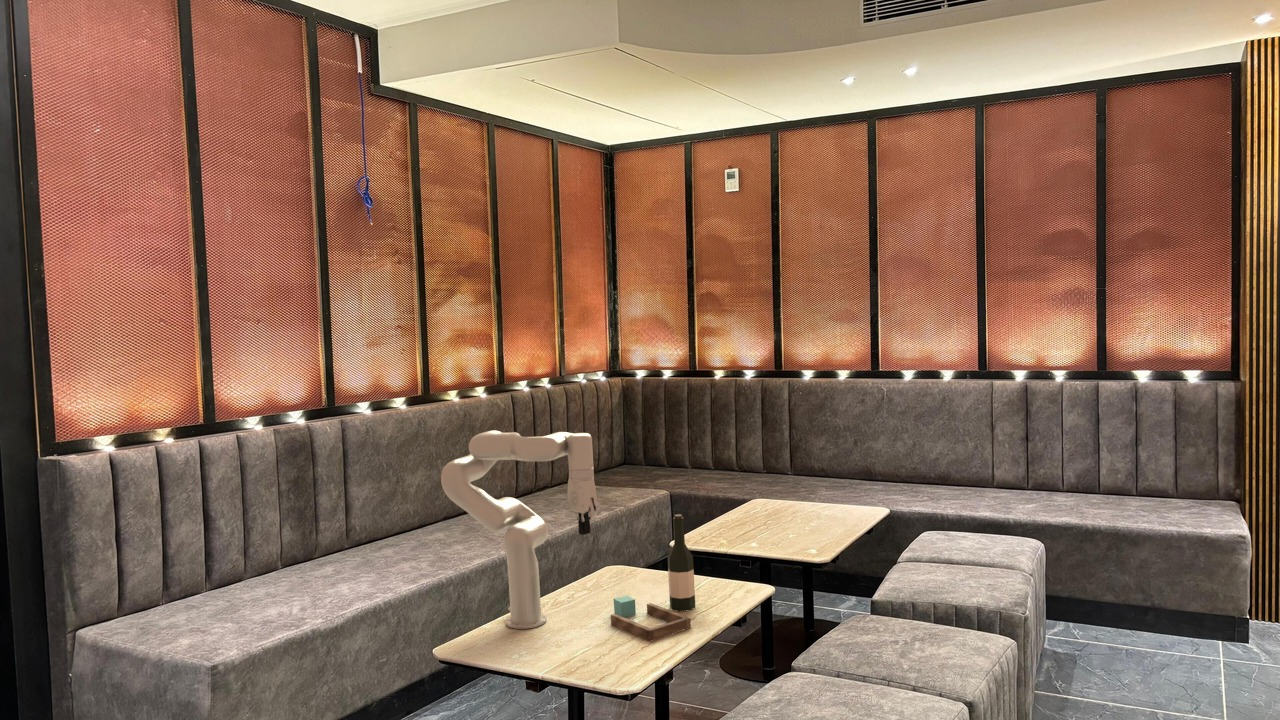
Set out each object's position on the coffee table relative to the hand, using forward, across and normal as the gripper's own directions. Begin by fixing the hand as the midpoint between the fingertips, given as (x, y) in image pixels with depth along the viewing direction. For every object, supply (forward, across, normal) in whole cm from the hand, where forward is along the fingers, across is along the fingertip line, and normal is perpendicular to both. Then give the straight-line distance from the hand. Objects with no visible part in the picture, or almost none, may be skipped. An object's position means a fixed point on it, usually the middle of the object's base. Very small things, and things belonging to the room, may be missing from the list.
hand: (584, 533), depth 266 cm
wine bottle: (+29, +6, +32) cm, 44 cm away
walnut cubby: (+29, +12, +14) cm, 34 cm away
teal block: (+29, -2, +15) cm, 33 cm away
